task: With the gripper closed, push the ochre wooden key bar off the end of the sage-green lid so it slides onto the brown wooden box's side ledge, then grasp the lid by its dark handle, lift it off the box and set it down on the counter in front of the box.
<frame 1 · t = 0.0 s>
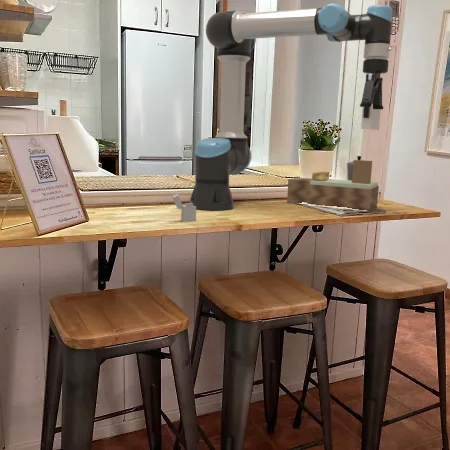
hand: (370, 129, 161), 28 cm above the worktop, fingers open, 13 cm apart
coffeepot: (356, 201, 202), on the worktop
lid: (344, 185, 185), point 8 cm above the worktop, touching brown wooden box
lighter: (183, 221, 149), on the worktop
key: (320, 175, 188), point 11 cm above the worktop, slide at 0.0 cm
brown wooden box: (342, 206, 186), on the worktop
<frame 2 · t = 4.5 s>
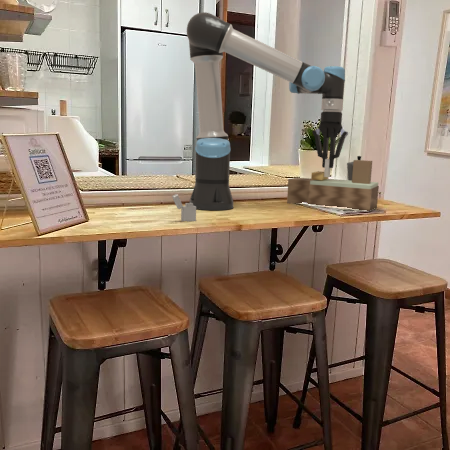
hand: (326, 176, 187), 11 cm above the worktop, fingers closed
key: (319, 175, 188), point 11 cm above the worktop, slide at 0.3 cm, touching gripper
everything else where it was.
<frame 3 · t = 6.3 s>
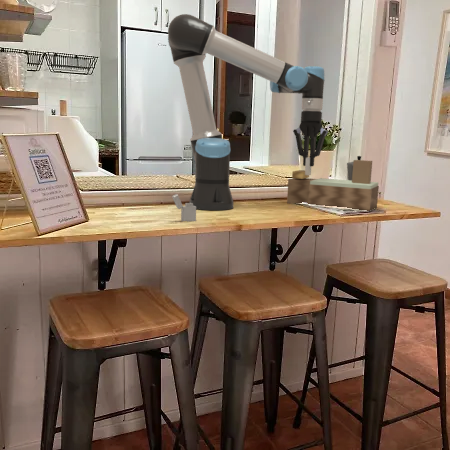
hand: (307, 175, 190), 11 cm above the worktop, fingers closed
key: (300, 174, 192), point 11 cm above the worktop, slide at 7.7 cm, touching gripper
everything else where it was.
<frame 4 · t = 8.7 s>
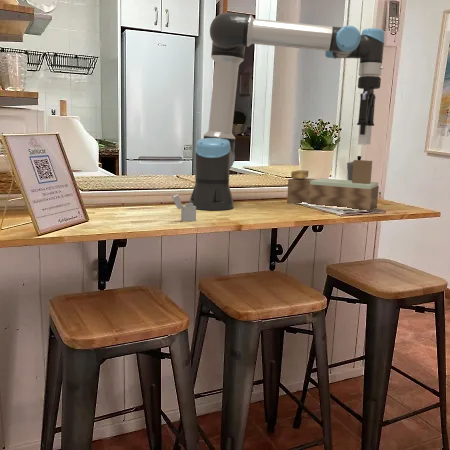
hand: (364, 144, 179), 23 cm above the worktop, fingers open, 6 cm apart
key: (299, 174, 192), point 11 cm above the worktop, slide at 8.1 cm
everything else where it was.
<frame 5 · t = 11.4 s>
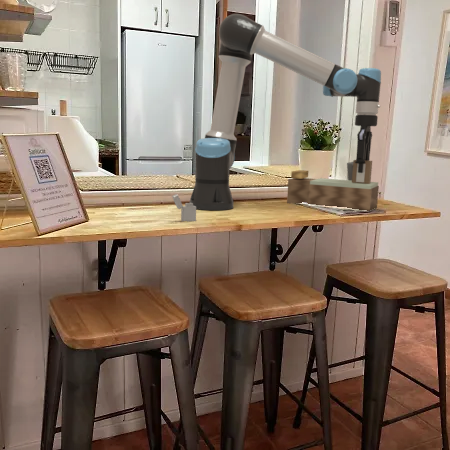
hand: (361, 181, 182), 10 cm above the worktop, fingers closed on lid, 3 cm apart
lid: (344, 184, 185), point 8 cm above the worktop, touching gripper
everything else where it was.
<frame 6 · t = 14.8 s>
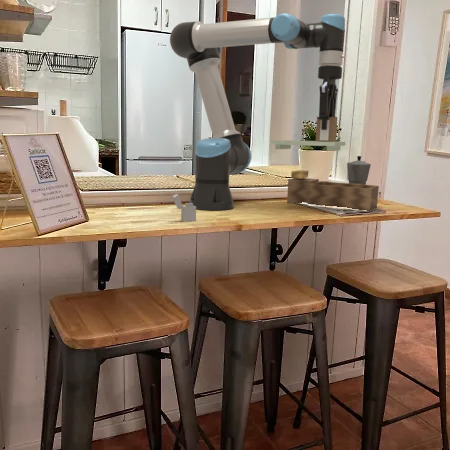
hand: (325, 140, 167), 24 cm above the worktop, fingers closed on lid, 3 cm apart
lid: (308, 144, 170), point 22 cm above the worktop, touching gripper
everything else where it was.
when the fingers open (4 cm above the worktop, at t = 18.4 s): lid drops 1 cm, point 1 cm above the worktop.
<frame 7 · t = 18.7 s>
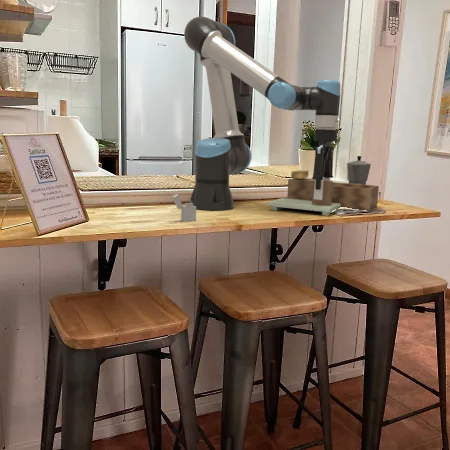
hand: (321, 198, 171), 5 cm above the worktop, fingers open, 7 cm apart
lid: (304, 206, 174), point 1 cm above the worktop
everything else where it was.
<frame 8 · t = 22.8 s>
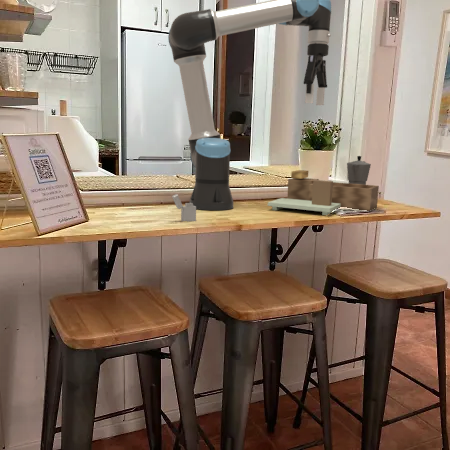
hand: (314, 104, 188), 37 cm above the worktop, fingers open, 13 cm apart
nothing on the worktop moved.
at the end: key slide at 8.1 cm; lid inside the target area (0.9 cm from its centre), point 1.5 cm above the worktop; lid tilted 0° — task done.
